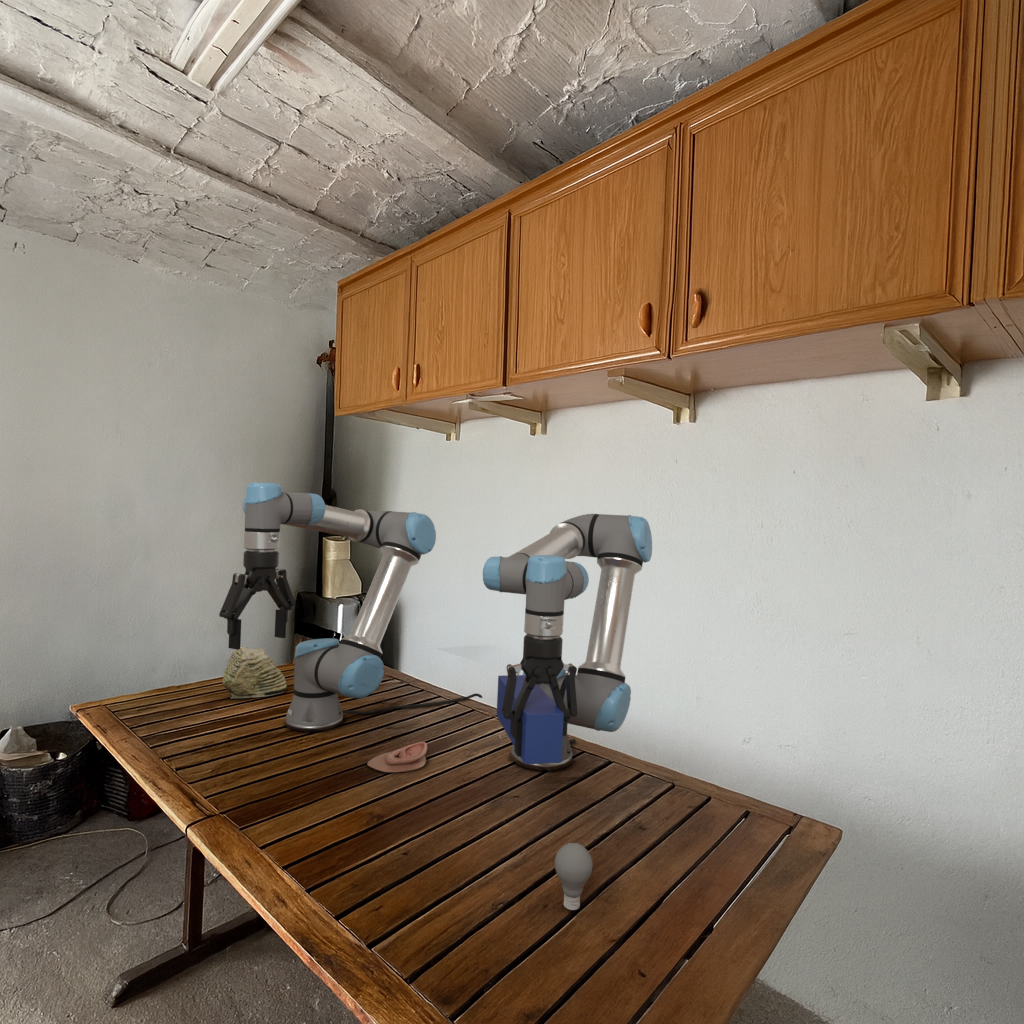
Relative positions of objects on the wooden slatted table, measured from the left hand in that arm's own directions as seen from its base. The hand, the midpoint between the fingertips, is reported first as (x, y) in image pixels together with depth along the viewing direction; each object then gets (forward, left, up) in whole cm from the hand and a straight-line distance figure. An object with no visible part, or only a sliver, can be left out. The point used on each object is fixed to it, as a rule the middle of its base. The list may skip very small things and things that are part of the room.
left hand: (258, 642), depth 145 cm
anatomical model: (-25, +21, -29) cm, 44 cm away
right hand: (-23, +64, -14) cm, 69 cm away
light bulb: (-8, +82, -29) cm, 87 cm away
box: (-28, +56, -14) cm, 65 cm away
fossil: (-28, -49, -29) cm, 64 cm away
